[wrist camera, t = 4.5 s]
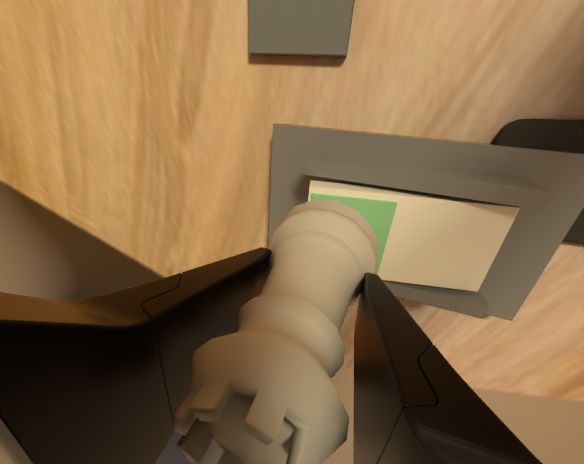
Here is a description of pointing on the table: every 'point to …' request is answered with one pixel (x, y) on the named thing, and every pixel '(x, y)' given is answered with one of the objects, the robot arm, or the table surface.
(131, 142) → the table surface
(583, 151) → the phone
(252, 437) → the rook chess piece
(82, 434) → the robot arm
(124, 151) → the table surface
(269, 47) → the rubber pad
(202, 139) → the table surface
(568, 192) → the grey stand
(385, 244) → the rocker
